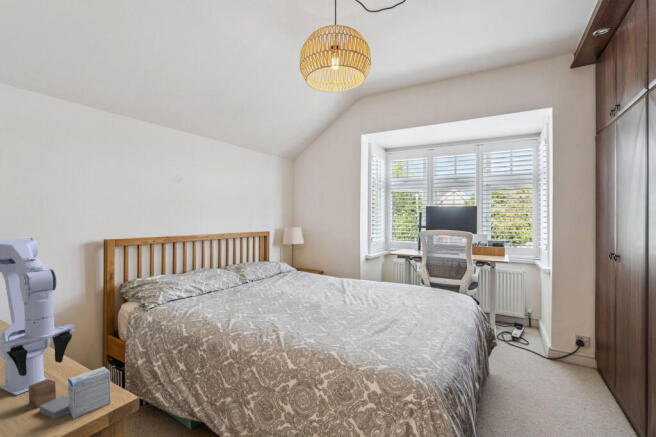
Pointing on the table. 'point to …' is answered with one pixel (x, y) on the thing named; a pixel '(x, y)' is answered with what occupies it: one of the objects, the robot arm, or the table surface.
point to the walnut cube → (42, 393)
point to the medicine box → (89, 391)
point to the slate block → (56, 407)
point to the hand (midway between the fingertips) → (41, 368)
